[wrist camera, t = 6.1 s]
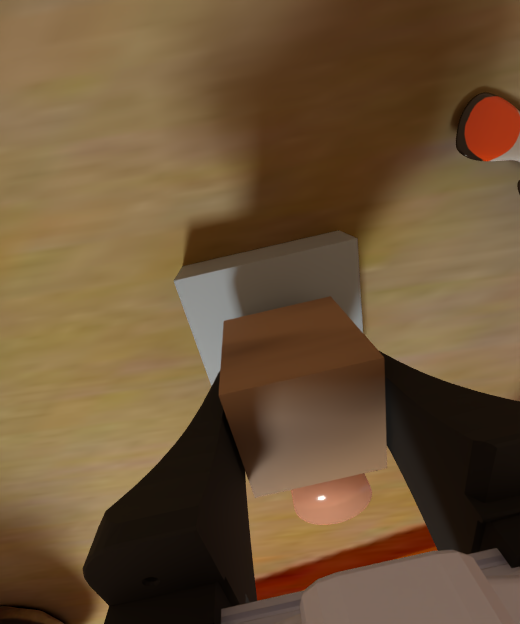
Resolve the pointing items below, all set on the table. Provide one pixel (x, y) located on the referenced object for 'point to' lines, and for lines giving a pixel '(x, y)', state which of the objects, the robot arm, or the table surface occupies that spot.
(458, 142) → the fish
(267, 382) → the walnut cube
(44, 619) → the ceramic jug
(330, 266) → the slate slab
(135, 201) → the table surface
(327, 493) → the terracotta cylinder
